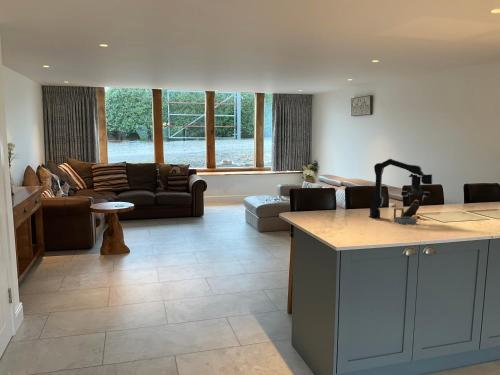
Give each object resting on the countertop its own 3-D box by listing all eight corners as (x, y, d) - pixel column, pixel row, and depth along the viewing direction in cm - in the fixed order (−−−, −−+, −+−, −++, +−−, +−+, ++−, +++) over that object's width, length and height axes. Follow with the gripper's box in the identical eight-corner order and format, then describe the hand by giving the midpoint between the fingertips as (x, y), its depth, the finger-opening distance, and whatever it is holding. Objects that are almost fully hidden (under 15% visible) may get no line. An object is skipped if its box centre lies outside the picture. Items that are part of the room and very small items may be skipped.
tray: (402, 224, 278) (402, 219, 278) (394, 221, 288) (394, 217, 288) (416, 223, 280) (416, 219, 279) (408, 221, 290) (408, 216, 289)
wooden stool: (403, 220, 293) (403, 208, 292) (393, 219, 295) (394, 208, 294) (403, 218, 299) (403, 207, 298) (393, 218, 301) (394, 207, 300)
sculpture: (418, 218, 299) (419, 200, 298) (400, 216, 307) (401, 198, 306) (420, 217, 304) (421, 199, 302) (402, 215, 312) (403, 198, 310)
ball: (413, 221, 289) (413, 215, 288) (410, 220, 293) (410, 214, 292) (418, 221, 289) (418, 215, 289) (415, 220, 293) (415, 214, 293)
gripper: (401, 184, 283) (401, 207, 285) (431, 185, 278) (430, 208, 279) (401, 182, 294) (400, 204, 296) (430, 183, 288) (429, 206, 290)
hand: (415, 205), depth 290 cm, fingers open, 9 cm apart
